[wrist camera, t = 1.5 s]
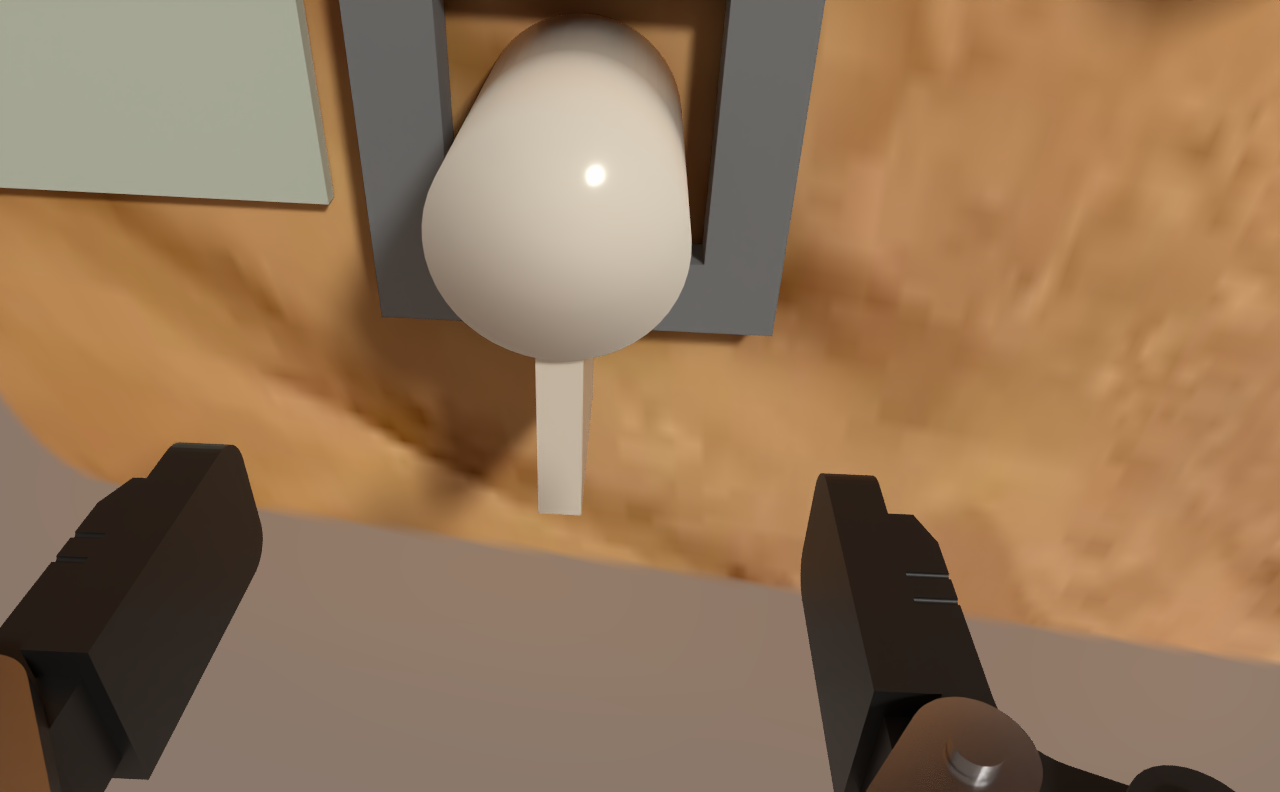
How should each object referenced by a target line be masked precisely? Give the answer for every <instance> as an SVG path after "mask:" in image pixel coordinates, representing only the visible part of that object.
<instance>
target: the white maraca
mask: <svg viewBox="0 0 1280 792" xmlns="http://www.w3.org/2000/svg"><path fill="white" fill-rule="evenodd" d="M422 244H423V250H424V256H425V260H426V263H427V266H428V269H429V272H430V274H431V277H432V279H433V281H434V283H435V285H436V287H437V289H438V290H439V292H440V294H441V295H442V297H443V298H444V300H445V301H446V303H447V304H448V305H449V306H450V308H451V309H452V310H453V311H454V312H455V314H456V315H457V316H458V317H459V318H460V319H462V320H463V321H464V322H465V323H466V324H467V325H468V326H469V327H470V328H472V329H473V330H474V331H476V332H477V333H478V334H480V335H481V336H483V337H484V338H486V339H488V340H489V341H491V342H493V343H494V344H497V345H499V346H501V347H503V348H505V349H507V350H510V351H513V352H516V353H519V354H522V355H525V356H529V357H534V358H535V371H536V418H537V464H538V510H539V513H544V514H566V515H581V511H582V500H583V490H584V480H585V470H586V459H587V449H588V439H589V429H590V418H591V408H592V398H593V370H594V358H595V357H600V356H604V355H607V354H610V353H613V352H615V351H618V350H621V349H623V348H625V347H627V346H629V345H631V344H633V343H634V342H636V341H637V340H639V339H640V338H642V337H643V336H645V335H646V334H648V333H649V332H650V331H651V330H652V329H653V328H655V327H656V326H657V325H658V324H659V323H660V322H661V321H662V320H663V318H664V317H665V316H666V315H667V314H668V313H669V311H670V310H671V308H672V307H673V305H674V304H675V302H676V301H677V299H678V297H679V295H680V293H681V291H682V289H683V287H684V284H685V281H686V278H687V275H688V271H689V266H690V260H691V245H692V237H691V225H690V212H689V199H688V186H687V174H686V161H685V148H684V135H683V123H682V110H681V102H680V95H679V91H678V88H677V84H676V81H675V79H674V76H673V74H672V72H671V70H670V68H669V66H668V64H667V63H666V61H665V59H664V58H663V57H662V55H661V54H660V53H659V51H658V50H657V49H656V48H655V47H654V46H653V45H652V44H651V43H650V42H649V41H648V40H647V39H646V38H645V37H644V36H642V35H641V34H640V33H639V32H637V31H636V30H634V29H633V28H631V27H629V26H627V25H626V24H624V23H621V22H619V21H617V20H614V19H612V18H608V17H605V16H601V15H596V14H588V13H569V14H563V15H557V16H554V17H550V18H547V19H544V20H542V21H540V22H538V23H536V24H533V25H532V26H530V27H529V28H527V29H526V30H524V31H522V32H521V33H520V34H519V35H518V36H517V37H515V38H514V39H513V40H512V41H511V42H510V43H509V44H508V46H507V47H506V48H505V49H504V50H503V52H502V53H501V55H500V56H499V58H498V60H497V61H496V63H495V65H494V67H493V69H492V70H491V72H490V74H489V76H488V78H487V80H486V82H485V84H484V85H483V87H482V89H481V91H480V93H479V95H478V97H477V99H476V101H475V102H474V104H473V106H472V108H471V110H470V112H469V114H468V116H467V117H466V119H465V121H464V123H463V125H462V127H461V129H460V131H459V133H458V134H457V136H456V138H455V140H454V142H453V144H452V146H451V148H450V150H449V151H448V153H447V155H446V157H445V159H444V161H443V163H442V165H441V166H440V168H439V170H438V172H437V174H436V176H435V178H434V180H433V182H432V185H431V187H430V189H429V191H428V194H427V198H426V201H425V205H424V209H423V217H422Z"/></svg>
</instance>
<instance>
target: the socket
mask: <svg viewBox="0 0 1280 792" xmlns="http://www.w3.org/2000/svg"><path fill="white" fill-rule="evenodd" d="M339 4H340V11H341V19H342V26H343V34H344V41H345V48H346V56H347V63H348V70H349V78H350V85H351V93H352V100H353V107H354V115H355V122H356V129H357V137H358V144H359V152H360V159H361V166H362V174H363V181H364V188H365V196H366V203H367V211H368V218H369V225H370V233H371V240H372V247H373V255H374V262H375V270H376V277H377V284H378V292H379V299H380V306H381V314H382V317H396V318H416V319H436V320H457V321H463V320H462V319H460V318H459V317H458V316H457V315H456V314H455V312H454V311H453V310H452V309H451V308H450V306H449V305H448V304H447V303H446V301H445V300H444V298H443V297H442V295H441V294H440V292H439V290H438V289H437V287H436V285H435V283H434V281H433V279H432V277H431V274H430V272H429V269H428V266H427V263H426V260H425V256H424V250H423V244H422V217H423V209H424V205H425V201H426V198H427V194H428V191H429V189H430V187H431V185H432V182H433V180H434V178H435V176H436V174H437V172H438V170H439V168H440V166H441V165H442V163H443V161H444V159H445V157H446V155H447V153H448V151H449V150H450V148H451V146H452V144H453V142H454V136H453V123H452V109H451V95H450V81H449V67H448V53H447V40H446V26H445V12H444V0H339ZM824 5H825V0H726V9H725V19H724V29H723V39H722V49H721V59H720V70H719V80H718V90H717V100H716V110H715V120H714V130H713V141H712V151H711V161H710V171H709V181H708V191H707V201H706V212H705V222H704V232H703V242H702V244H692V245H691V260H690V266H689V271H688V275H687V278H686V281H685V284H684V287H683V289H682V291H681V293H680V295H679V297H678V299H677V301H676V302H675V304H674V305H673V307H672V308H671V310H670V311H669V313H668V314H667V315H666V316H665V317H664V318H663V320H662V321H661V322H660V323H659V324H658V325H657V326H656V327H655V328H653V329H652V330H658V331H678V332H698V333H718V334H738V335H758V336H772V333H773V327H774V321H775V314H776V308H777V302H778V295H779V289H780V283H781V276H782V270H783V264H784V257H785V251H786V245H787V238H788V232H789V226H790V220H791V213H792V207H793V201H794V194H795V188H796V182H797V175H798V169H799V163H800V156H801V150H802V144H803V137H804V131H805V125H806V119H807V112H808V106H809V100H810V93H811V87H812V81H813V74H814V68H815V62H816V55H817V49H818V43H819V36H820V30H821V24H822V18H823V11H824Z"/></svg>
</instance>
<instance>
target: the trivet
mask: <svg viewBox="0 0 1280 792" xmlns="http://www.w3.org/2000/svg"><path fill="white" fill-rule="evenodd" d="M0 188H19V189H39V190H58V191H77V192H96V193H116V194H135V195H154V196H174V197H193V198H212V199H231V200H251V201H270V202H289V203H308V204H328V205H329V203H330V202H331V201H332V199H333V198H334V193H333V187H332V180H331V174H330V168H329V161H328V155H327V149H326V142H325V136H324V130H323V123H322V117H321V111H320V104H319V98H318V91H317V85H316V79H315V72H314V66H313V60H312V53H311V47H310V41H309V34H308V28H307V22H306V15H305V9H304V2H303V0H0Z"/></svg>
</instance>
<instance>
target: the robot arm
mask: <svg viewBox="0 0 1280 792" xmlns="http://www.w3.org/2000/svg"><path fill="white" fill-rule="evenodd" d="M262 536H263V535H262V527H261V523H260V519H259V515H258V511H257V508H256V504H255V501H254V497H253V493H252V490H251V486H250V482H249V479H248V475H247V472H246V468H245V464H244V461H243V457H242V455H241V453H240V451H239V449H238V448H237V447H236V446H234V445H224V444H202V443H175V444H173V445H172V446H171V447H170V448H169V449H168V450H167V451H166V453H165V454H164V455H163V457H162V458H161V459H160V461H159V462H158V463H157V465H156V466H155V467H154V469H153V470H152V472H151V473H150V474H149V476H148V477H147V478H132V479H131V480H129V481H128V482H126V483H125V484H124V485H122V486H121V487H119V488H118V489H116V490H115V491H114V492H112V493H111V494H109V495H108V496H107V497H105V498H104V499H102V500H101V501H99V502H98V503H97V504H96V506H95V507H94V508H93V510H92V511H91V512H90V514H89V515H88V516H87V517H86V519H85V520H84V521H83V523H82V524H81V525H80V526H79V527H78V529H77V530H76V532H75V537H74V538H70V539H69V541H68V542H67V543H66V544H65V545H64V547H63V548H62V549H61V551H60V552H59V553H58V554H57V560H56V562H51V564H50V565H49V566H48V567H47V568H46V570H45V571H44V572H43V574H42V575H41V576H40V578H39V579H38V580H37V581H36V583H35V584H34V585H33V586H32V588H31V589H30V590H29V591H28V593H27V594H26V595H25V597H24V598H23V599H22V600H21V602H20V603H19V604H18V606H17V607H16V608H15V609H14V611H13V612H12V613H11V614H10V616H9V617H8V618H7V620H6V621H5V622H4V623H3V625H2V626H1V627H0V792H104V791H105V789H106V787H107V785H108V783H109V782H110V780H111V778H124V779H147V780H148V779H149V778H150V776H151V774H152V772H153V770H154V768H155V766H156V764H157V762H158V760H159V758H160V757H161V755H162V753H163V751H164V749H165V747H166V745H167V743H168V741H169V739H170V737H171V735H172V733H173V731H174V729H175V728H176V726H177V723H178V722H179V720H180V718H181V716H182V714H183V712H184V710H185V708H186V706H187V704H188V702H189V700H190V698H191V696H192V695H193V693H194V690H195V689H196V686H197V685H198V683H199V681H200V679H201V677H202V675H203V673H204V671H205V669H206V667H207V665H208V663H209V662H210V659H211V658H212V656H213V654H214V652H215V650H216V648H217V646H218V644H219V642H220V640H221V638H222V636H223V634H224V632H225V630H226V628H227V627H228V625H229V623H230V621H231V619H232V617H233V615H234V613H235V611H236V609H237V607H238V605H239V603H240V601H241V599H242V597H243V595H244V594H245V592H246V590H247V588H248V586H249V584H250V582H251V580H252V578H253V576H254V574H255V572H256V570H257V567H258V564H259V561H260V557H261V552H262V541H263V537H262ZM948 575H949V573H948V570H947V567H946V564H945V561H944V558H943V556H942V553H941V550H940V547H939V544H938V542H937V541H936V540H935V539H934V538H933V537H932V535H931V534H930V533H929V532H928V531H927V530H926V529H925V528H924V527H923V525H922V524H921V523H920V522H919V521H918V520H917V519H916V518H915V516H914V515H906V514H888V512H887V509H886V506H885V502H884V499H883V496H882V492H881V489H880V486H879V483H878V480H877V479H876V477H875V476H868V475H846V474H824V473H821V474H820V475H819V477H818V479H817V482H816V486H815V491H814V496H813V501H812V506H811V511H810V516H809V521H808V527H807V532H806V537H805V542H804V547H803V552H802V559H801V594H802V601H803V607H804V613H805V619H806V625H807V631H808V637H809V644H810V650H811V656H812V661H813V668H814V674H815V680H816V686H817V692H818V698H819V703H820V710H821V716H822V722H823V728H824V734H825V740H826V746H827V752H828V758H829V764H830V770H831V776H832V782H833V789H834V792H1235V791H1233V790H1232V789H1230V788H1229V787H1227V786H1226V785H1225V784H1223V783H1221V782H1220V781H1218V780H1216V779H1214V778H1212V777H1210V776H1208V775H1206V774H1203V773H1201V772H1199V771H1195V770H1192V769H1189V768H1185V767H1179V766H1169V765H1168V766H1166V765H1162V766H1156V767H1151V768H1149V769H1146V770H1144V771H1143V772H1141V773H1140V774H1138V775H1137V776H1136V777H1135V778H1134V780H1133V781H1132V782H1131V784H1130V785H1129V786H1128V785H1125V784H1122V783H1119V782H1116V781H1113V780H1110V779H1107V778H1104V777H1101V776H1098V775H1095V774H1092V773H1089V772H1086V771H1083V770H1080V769H1077V768H1074V767H1071V766H1068V765H1066V764H1063V763H1061V762H1058V761H1056V760H1054V759H1052V758H1050V757H1048V756H1046V755H1044V754H1043V753H1041V752H1040V751H1038V750H1037V749H1036V747H1035V745H1034V743H1033V741H1032V740H1031V739H1030V737H1029V736H1028V735H1027V733H1026V732H1025V731H1024V730H1023V729H1022V728H1021V726H1019V724H1018V723H1016V722H1015V721H1014V720H1012V718H1010V717H1009V716H1008V715H1006V714H1005V713H1003V712H1002V711H1000V710H998V708H997V706H996V704H995V702H994V699H993V697H992V694H991V691H990V688H989V686H988V683H987V680H986V677H985V674H984V671H983V668H982V666H981V663H980V660H979V657H978V654H977V652H976V649H975V646H974V643H973V640H972V637H971V635H970V632H969V629H968V626H967V623H966V621H965V618H964V615H963V612H962V609H961V606H960V605H958V603H957V600H958V598H957V595H956V592H955V589H954V587H953V584H952V581H951V580H950V579H949V577H948Z"/></svg>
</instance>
